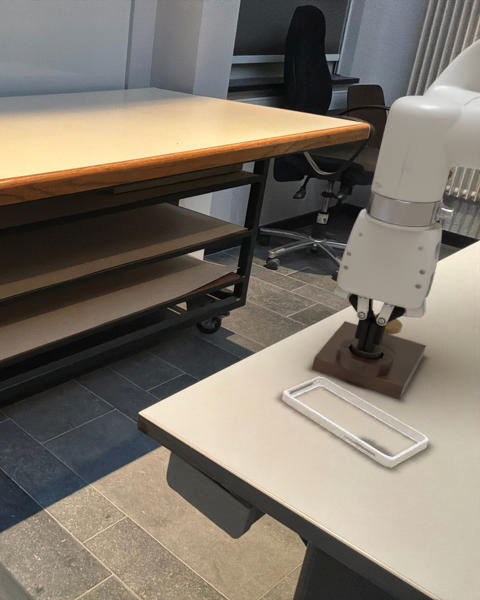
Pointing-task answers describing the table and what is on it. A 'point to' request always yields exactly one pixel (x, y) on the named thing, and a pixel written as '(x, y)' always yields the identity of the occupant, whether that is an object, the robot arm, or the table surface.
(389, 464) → the phone case
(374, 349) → the lamp switch
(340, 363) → the lamp base
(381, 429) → the table surface
